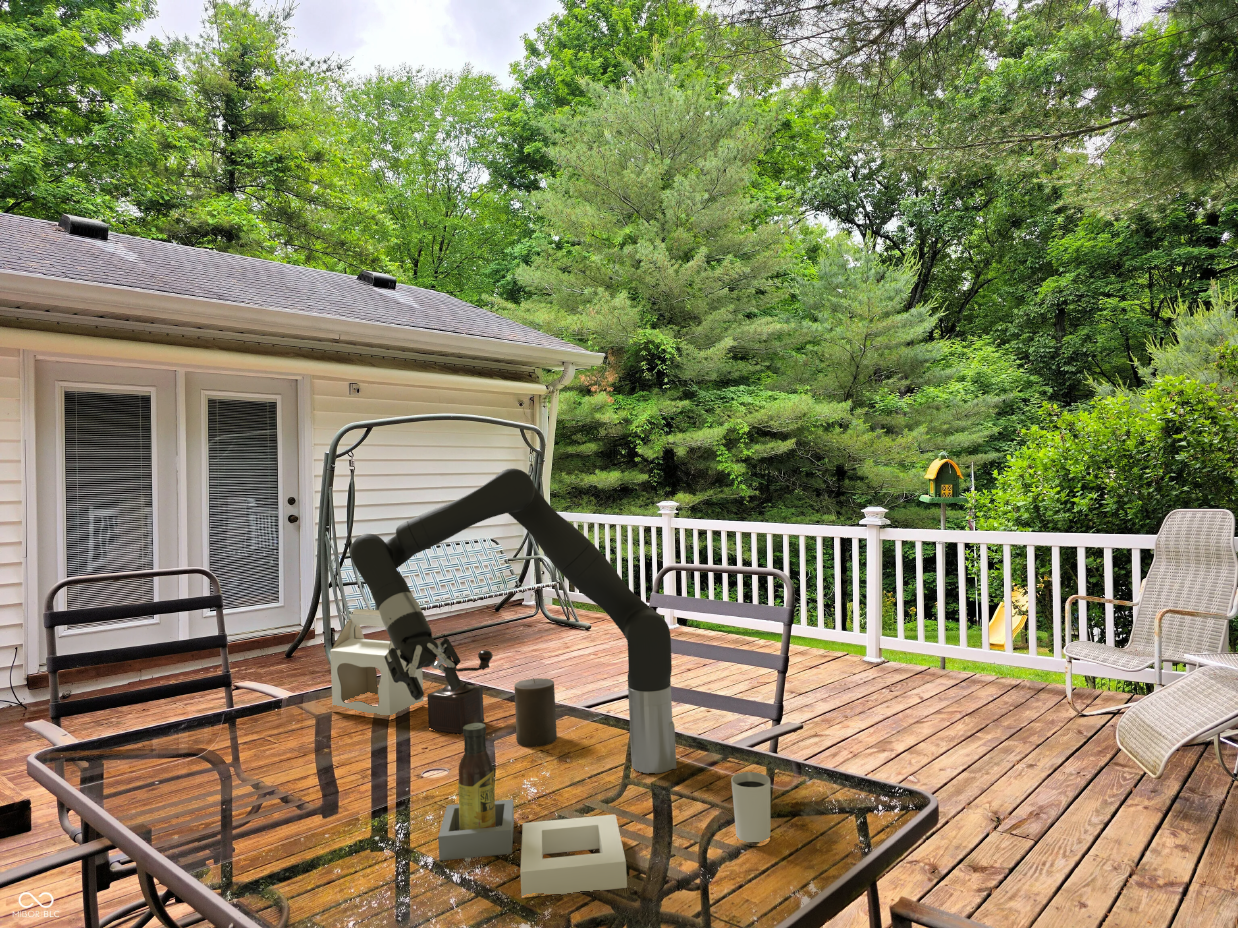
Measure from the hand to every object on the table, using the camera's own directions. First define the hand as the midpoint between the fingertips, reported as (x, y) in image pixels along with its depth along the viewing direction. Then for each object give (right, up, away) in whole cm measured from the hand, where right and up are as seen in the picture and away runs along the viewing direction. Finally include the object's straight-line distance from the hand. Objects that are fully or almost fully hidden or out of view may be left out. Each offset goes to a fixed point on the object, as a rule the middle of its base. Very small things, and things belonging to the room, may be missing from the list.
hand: (439, 692), depth 141 cm
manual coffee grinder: (-7, -25, +55) cm, 61 cm away
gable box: (-34, -26, +71) cm, 83 cm away
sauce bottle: (+9, -23, -9) cm, 27 cm away
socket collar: (+26, -22, -19) cm, 39 cm away
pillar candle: (+14, -24, +40) cm, 49 cm away
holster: (+9, -23, -9) cm, 26 cm away
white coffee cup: (+57, -21, -13) cm, 62 cm away
